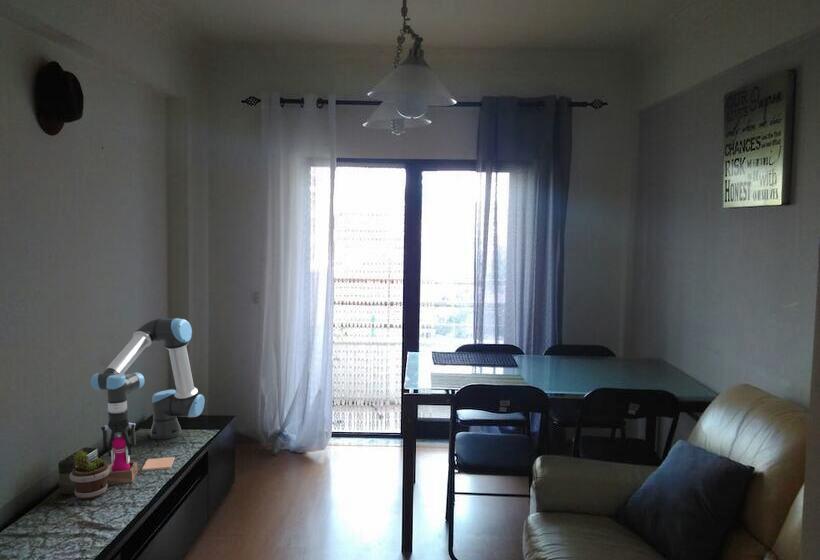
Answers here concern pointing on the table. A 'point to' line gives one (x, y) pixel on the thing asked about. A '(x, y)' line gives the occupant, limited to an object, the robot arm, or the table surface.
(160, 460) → the plate
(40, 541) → the table surface
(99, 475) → the flowerpot
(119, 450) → the pepper mill
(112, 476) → the wooden box
